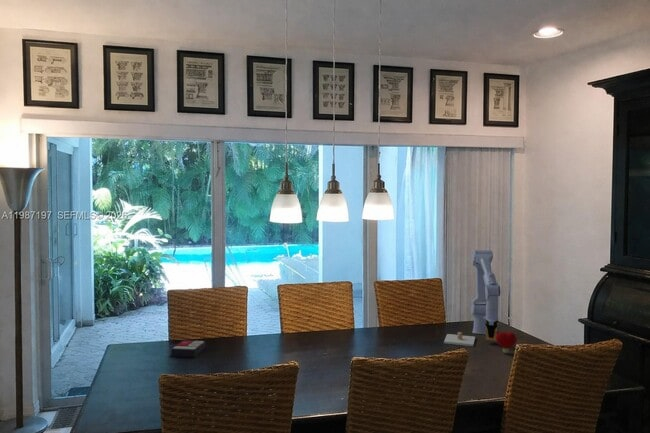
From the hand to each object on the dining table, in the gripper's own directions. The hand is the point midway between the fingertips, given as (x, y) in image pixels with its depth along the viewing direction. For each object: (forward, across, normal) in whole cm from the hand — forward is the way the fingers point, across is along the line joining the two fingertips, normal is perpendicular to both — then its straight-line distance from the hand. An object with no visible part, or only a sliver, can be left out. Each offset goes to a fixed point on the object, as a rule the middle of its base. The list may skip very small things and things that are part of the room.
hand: (491, 336), depth 264 cm
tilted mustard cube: (+1, 0, 0) cm, 1 cm away
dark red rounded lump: (+4, +14, +7) cm, 16 cm away
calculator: (+4, +64, -132) cm, 147 cm away
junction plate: (+4, +1, -15) cm, 16 cm away
